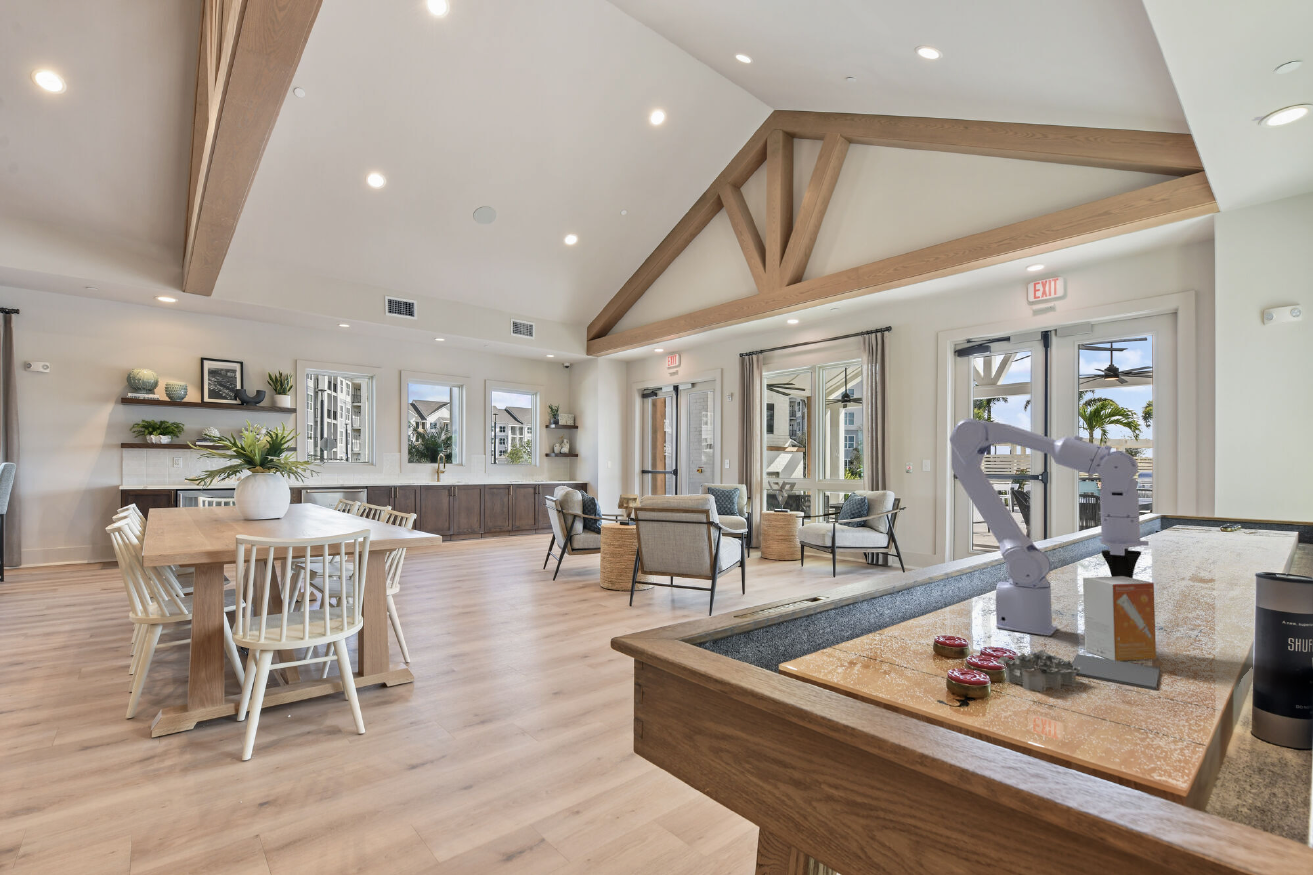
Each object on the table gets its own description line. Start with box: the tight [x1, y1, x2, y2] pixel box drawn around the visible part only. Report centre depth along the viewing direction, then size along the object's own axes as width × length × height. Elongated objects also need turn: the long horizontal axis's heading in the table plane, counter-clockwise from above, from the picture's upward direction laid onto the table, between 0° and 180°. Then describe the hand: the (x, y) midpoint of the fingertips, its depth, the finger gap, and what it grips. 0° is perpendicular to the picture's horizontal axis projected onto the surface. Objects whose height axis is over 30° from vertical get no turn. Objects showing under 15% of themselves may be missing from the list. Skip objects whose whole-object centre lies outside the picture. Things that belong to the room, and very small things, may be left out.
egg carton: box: [997, 649, 1082, 692], centre depth 94 cm, size 10×7×4 cm
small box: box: [1082, 576, 1157, 662], centre depth 106 cm, size 8×6×13 cm
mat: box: [1071, 653, 1161, 691], centre depth 97 cm, size 11×11×1 cm
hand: (1122, 590), depth 113 cm, fingers closed
